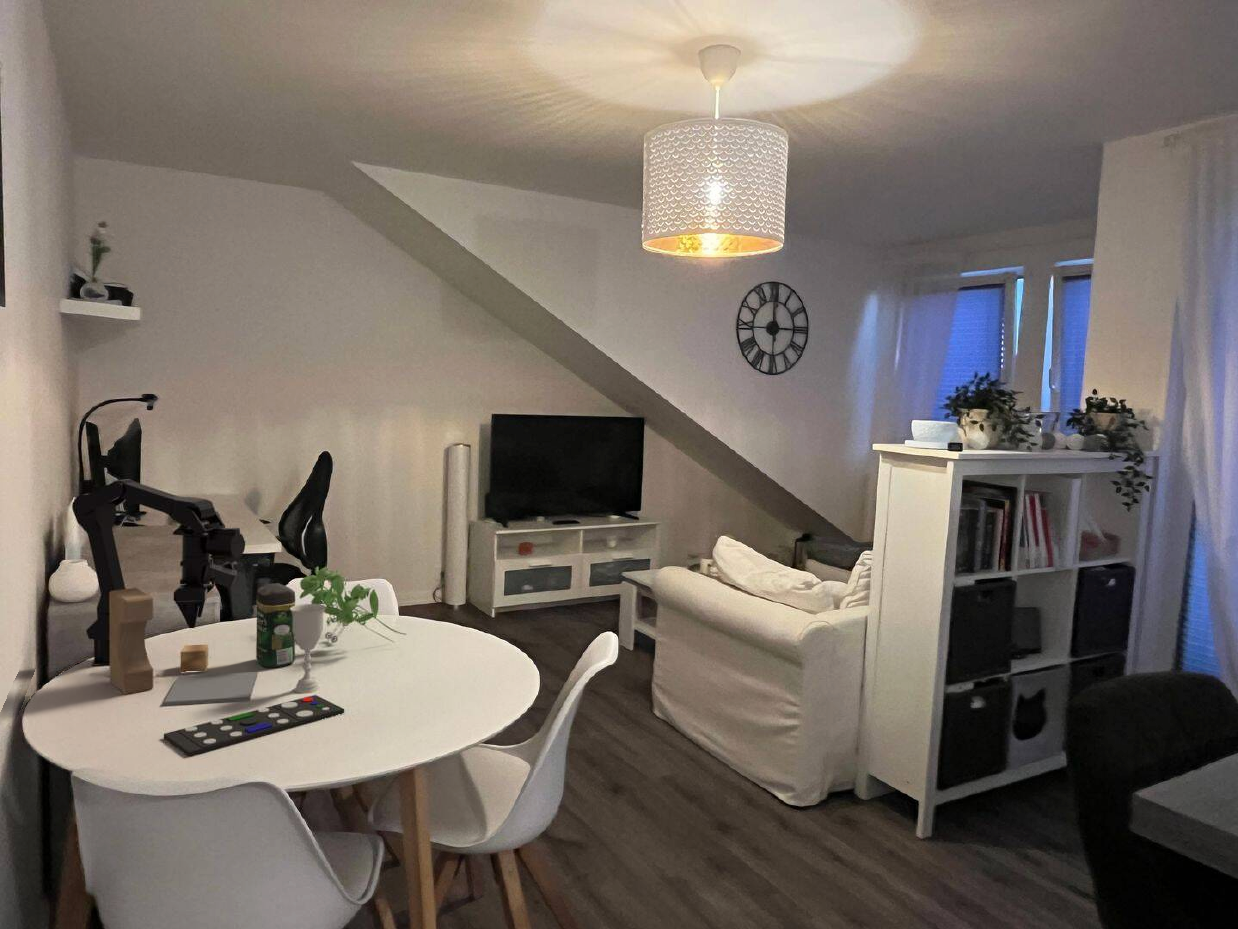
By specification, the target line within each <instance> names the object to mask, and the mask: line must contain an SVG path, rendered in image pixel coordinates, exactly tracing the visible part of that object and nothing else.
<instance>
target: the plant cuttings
mask: <svg viewBox="0 0 1238 929" xmlns="http://www.w3.org/2000/svg"><path fill="white" fill-rule="evenodd" d="M338 571H339V569H338V570H329V568H328V567H327V566H326V567H325V566H324V567H323V568H320V570H319V566H316V567H315V568H314V573H315V575H314V574H311V575H307V576H305V577H304V578H302V579H301V580H300V583H299V584H300V585H299V586H300V588H301V590H303V591H302V592H301V593H300V595H299V599H303V598H305V597H307V596H308V595H311V596H312V597H313V598H312V599H311V603H310V604H320V605H324V606H326V608H325V610H324V612H323V613H325V614H328V615H329V617H327V618H326V619H327V620H325V621H326V625H327V627H329V626H331V623H332V624H333V623H337V625H336V627H335V628H334V630H333V631H332V632H331V631H327V632H326V633H325V634H324V638H325V639H326V640H327V643H328V644H329V645H332V644H334V643H337V642H338V638H339V637H340V635H341V634H342V632H343V631H344V629H345V628H346V627H348V626H349V624H352V623H355V622H356V623H357V624H358V625H360V626H363V627H365V628H366V629H368V630H369V631H371V632H373V633H375V634H377V635H379V636H381V637H382V638H384V639H386V640H387V641H390V642H392V643H395V644H396V642H394V640H391V639H389V638H388V637H385V636H384V635H382V634H380V633H378V632H376V631H374V630H372V629H370V628H368V626H366V622H367V621H368V620H371V619H374V620H376V621H378V622H379V623H380V624H382V625H383V626H384V627H386V628H387V629H389V630H390V631H392V632H394V633H396V634H401V635H407V633H404V632H400V631H398V630H395V629H393V628H391V627H390V626H388V625H386V624H385V623H384V622H382V621H381V620H380V619H378V618H377V615H378V612H379V598H378V595H377V593H376V590H375V588H373V589H372V587H371V588H370V587H366V588H365V587H363V586H361V584H360V583H358V584H356V585H355V586H353V587H352V589H351V590H349V591H348V593H349V595H347V591H346V587H345V586H347V582H349V579H348V576H344V577H343V576H342V575H341V574H340V573H339V572H338ZM326 580H327V582H328V584H329V585H330V587H329V589H328V588H327V587H326V586H325V581H326ZM371 589H372V590H371ZM370 591H371V592H370ZM343 593H344V597H343ZM367 598H368V600H369V607H370V609H371V612H369V611H367V609H365V608H363V607H362V606H361V605H359V604H358V603H359V602H360V601H363V600H364V599H367ZM335 606H336V607H335ZM358 607H359V608H361V609H362V610H363V611H361V610H359V609H356V608H358ZM358 612H359V613H358ZM354 614H355V615H354ZM359 615H360V616H359ZM331 616H332V617H333V618H332V617H331ZM340 626H342V628H341V629H340V631H339V632H338V634H337V635H336V634H335V632H336V631H337V629H338V628H339V627H340Z"/></svg>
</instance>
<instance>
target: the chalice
mask: <svg viewBox="0 0 1238 929" xmlns="http://www.w3.org/2000/svg"><path fill="white" fill-rule="evenodd" d="M325 608H326V605H324V604H321V605H320V604H311V603H305V604H298V605H295V606H293V607H291V608H290V610H291V612H292V613H293V634H294V638H295V642H297V644H298V646H299V648H300V650H302V651H304V653H305V654H304V658H303V661H304V666H303V667H302V669H303V670H304V674H303V676H302V677H300V679H299V680H298V681H297V683H296V686H295V687H294V691H295V692H296V693H299V694H309V693H313V692H317V691H319V690H320V686H319V684H318V682H317V680H316V678H315V677H313V676H312V675H311V674H310V671H311V668H312V665H311V663H310V662H311V659H312V657H311V654H310V653H311V650H314V649H315V648H316V646H317V644H318V643H319V640H320V638H321V636H322V633H323V630H324V613H325V612H324V610H325Z"/></svg>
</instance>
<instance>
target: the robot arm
mask: <svg viewBox="0 0 1238 929" xmlns="http://www.w3.org/2000/svg"><path fill="white" fill-rule="evenodd" d="M126 501H129V502H131V503H135V504H137V505H141V506H143V507H147V508H149V509H152V510H155V511H158V512H161V513H164V514H165V515H168V517H169V518H170V519H171V520H172V521H174V522H175V523H178V524H179V526H178V527H177V528H176V529H175V530H174V531H173V532H172V535H174V536H182V537H181V560H180V562H179V565H180V567H181V578H180V579H179V584H180V585H179V586H177V588H176V589H175V590H174V591H173V602H175V605H177V607H178V609H179V610H180V613H181V615H182V616H183V618H184V620H185V622H186V624H187V626H188V629H195V627H196V624H197V619H198V618H201V617H202V615H203V611H204V607H205V604H206V600H207V599H208V598H207V597H208V596H207V595H208V593H209V592H211V591H212V590H213V589H214V588H215V586H216V584H218V585H220V586H223V587H224V588H227V589H231V588H232V586H233V584H234V582H235V580H236V577H237V575H238V570H236V569H235V567H234V563H232V562H230V561H226V562H225V563H224V564H222V565H221V564H219V565H218V564H214V559H213V558H212V557H214V558H225V559H226V558H227V559H228V558H229V559H239V558H241V557H242V556H243V554H244V552H245V547H246V540H245V538H244V535H243V534H241V529H240V527H226V525H225V524H224V522H223V520H222V519H221V518H220V516H219V514H218V513H217V511H216V510H215V506H214V503H213V502H212V501H211V500H209V499H206V498H202V497H201V498H200V497H191V496H190V497H189V496H178V495H176V494H172V493H169V492H167V491H164V490H160V489H157V488H154V487H151V486H149V485H145V484H143V483H139V482H137V481H135V480H134V479H130V478H126V479H124V478H123V479H118V480H114V481H112V482H111V483H109V484H107V485H106V486H104V487H101V488H99V489H97V490H94V491H91V492H89V493H84V494H83V493H82V494H79V495H78V496H77V497H76V498H75V499H74V500H73V502H72V504H71V506H72V507H71V508H72V512H73V515H74V517H75V520H76V522H77V524H78V525H79V526H80V527H81V529H83V531H84V532H86V534H87V538H88V542H89V546H90V551H91V556H92V560H93V565H94V569H95V573H96V578H97V582H98V588H99V592H100V597H99V599H98V603H97V606H96V618H97V619H96V620H95V621H94V622H93V623H92V624H91V625H90V626H88V628H87V629H86V630H85V631H86V634H87V637H88V639H89V640H93V661H92V662H91V666H102V665H103V666H104V665H107V666H109V665H110V613H109V593H110V592H111V591H114V590H123V589H127V588H126V586H125V580H124V576H123V572H122V567H121V563H120V559H119V554H118V551H117V550H118V549H117V545H116V540H115V536H114V531H113V527H114V524H115V521H116V518H117V506H120V505H121V504H123V503H125V502H126Z"/></svg>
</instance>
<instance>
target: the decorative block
mask: <svg viewBox="0 0 1238 929" xmlns="http://www.w3.org/2000/svg"><path fill="white" fill-rule="evenodd" d="M109 613H110V664H109V681H110V682H111V683H112V684H114V686H116V688H118V689H119V690H120V691H121V692H123V694H125V695H130V694H131V693H132V694H135V693H141V691H142V692H147V691H151V690H150V689H154V667H153V666H152V664H151V663H150V660H149V657H148V654H147V649H146V640H145V636H146V635H145V634H146V627H147V624H148V621H152V620H153V619H154V598H153V597H152V596H150V595H149V594H147V593H145V592H143V591H142V590H140V589H138V588H136V587H132V588H126V589H123V590H114V591H111V592H110V593H109ZM146 690H147V691H146Z"/></svg>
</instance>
